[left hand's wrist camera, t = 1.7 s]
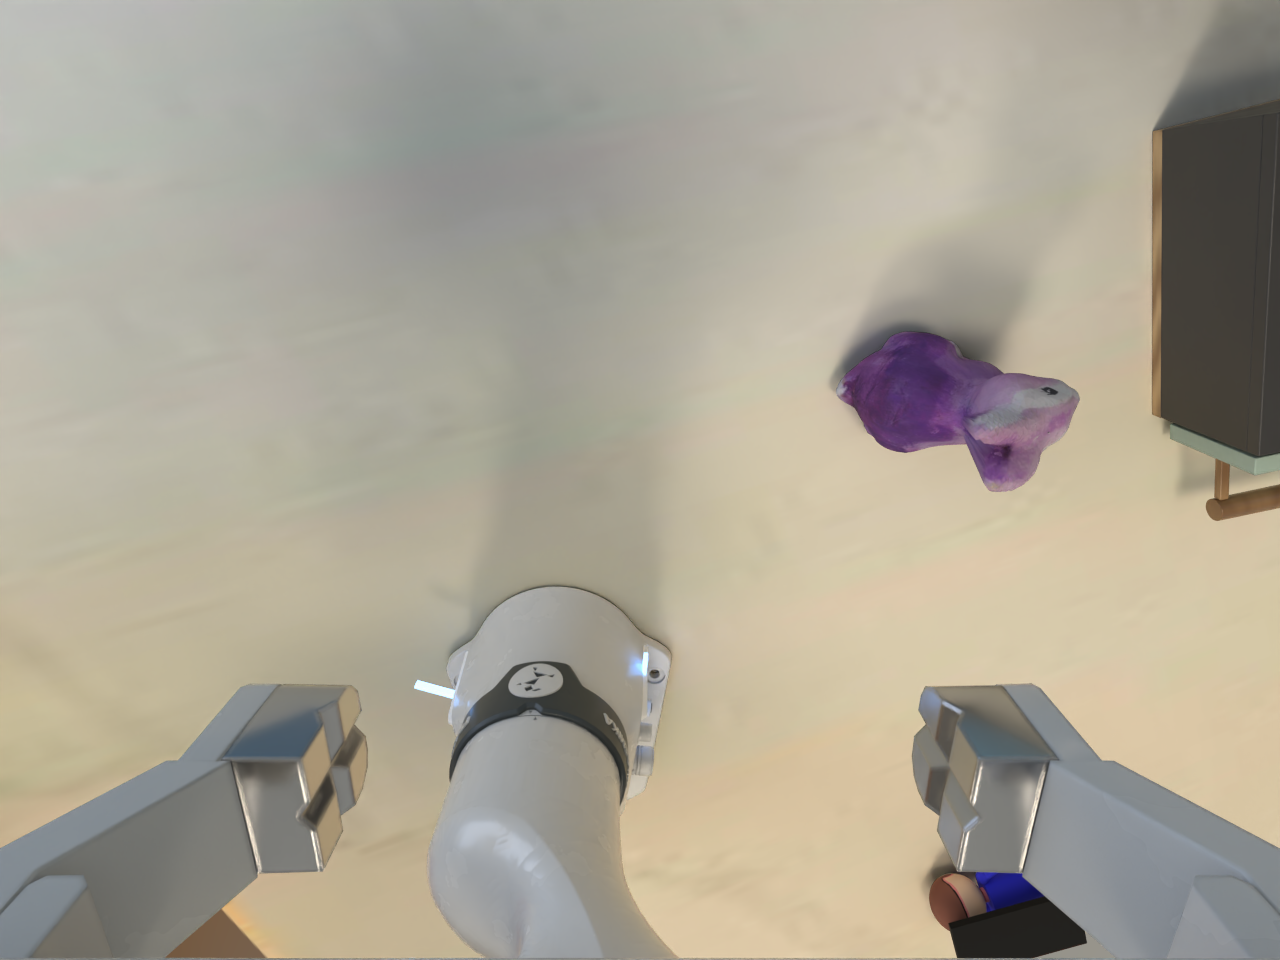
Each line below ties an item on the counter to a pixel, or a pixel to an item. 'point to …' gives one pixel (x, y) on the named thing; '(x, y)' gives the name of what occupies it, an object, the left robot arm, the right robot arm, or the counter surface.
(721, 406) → the counter surface
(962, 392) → the figurine
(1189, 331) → the cabinet
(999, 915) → the black wheeled block
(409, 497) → the counter surface
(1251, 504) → the drawer
